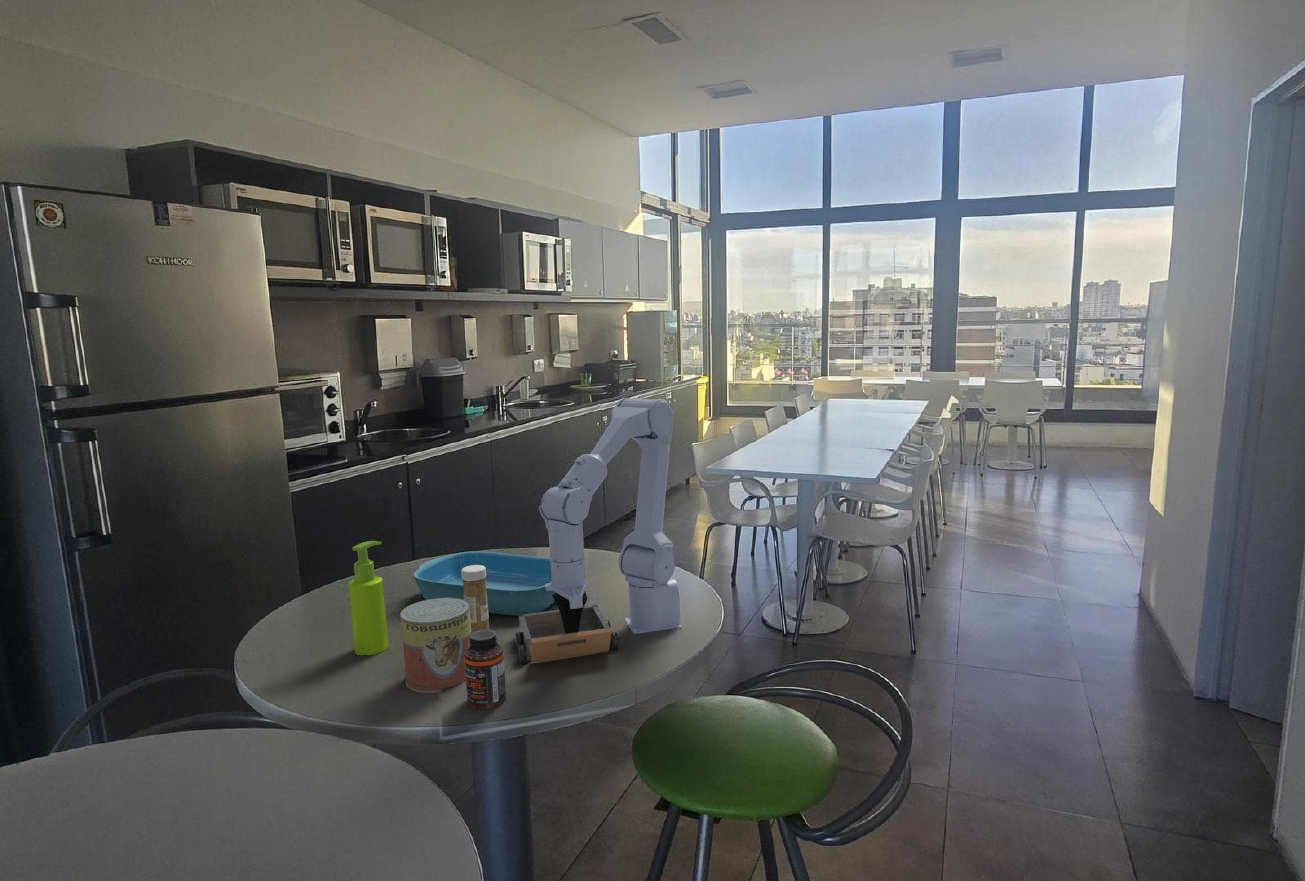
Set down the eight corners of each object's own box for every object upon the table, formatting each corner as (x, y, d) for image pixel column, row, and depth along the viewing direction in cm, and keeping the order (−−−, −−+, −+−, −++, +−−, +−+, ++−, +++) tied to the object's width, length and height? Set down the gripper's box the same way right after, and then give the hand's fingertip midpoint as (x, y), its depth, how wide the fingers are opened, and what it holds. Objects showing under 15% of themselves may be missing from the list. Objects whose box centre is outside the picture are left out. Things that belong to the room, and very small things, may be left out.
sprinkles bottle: (494, 636, 144) (489, 568, 143) (471, 642, 142) (465, 573, 140) (485, 628, 148) (480, 562, 146) (462, 634, 146) (457, 567, 144)
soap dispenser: (399, 642, 143) (390, 540, 140) (371, 657, 137) (361, 550, 134) (375, 638, 145) (366, 537, 143) (347, 652, 139) (337, 547, 136)
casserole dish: (595, 589, 169) (594, 558, 168) (546, 627, 149) (544, 592, 148) (457, 575, 183) (455, 547, 182) (394, 608, 162) (391, 576, 161)
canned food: (412, 699, 121) (406, 627, 119) (400, 672, 130) (394, 605, 129) (482, 682, 126) (477, 613, 124) (465, 657, 136) (461, 593, 134)
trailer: (603, 625, 148) (602, 603, 147) (618, 652, 135) (617, 628, 134) (513, 638, 143) (512, 615, 142) (521, 667, 130) (519, 642, 130)
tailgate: (607, 647, 135) (610, 627, 131) (608, 651, 134) (611, 631, 130) (531, 659, 131) (531, 638, 127) (531, 663, 131) (532, 643, 127)
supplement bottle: (459, 709, 117) (454, 639, 115) (482, 691, 122) (477, 624, 121) (492, 715, 115) (487, 644, 113) (513, 697, 120) (509, 629, 118)
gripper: (538, 548, 134) (543, 621, 136) (549, 573, 120) (554, 655, 122) (577, 544, 135) (582, 616, 137) (593, 568, 122) (597, 648, 124)
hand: (571, 634), depth 130 cm, fingers closed, pressing on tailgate
